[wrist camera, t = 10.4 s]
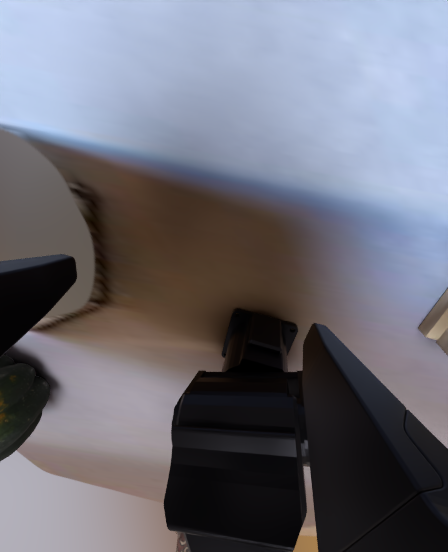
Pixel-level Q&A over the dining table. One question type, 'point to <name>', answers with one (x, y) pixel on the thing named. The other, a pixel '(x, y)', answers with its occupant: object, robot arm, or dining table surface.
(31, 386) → the squash
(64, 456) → the dining table surface
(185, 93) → the dining table surface
